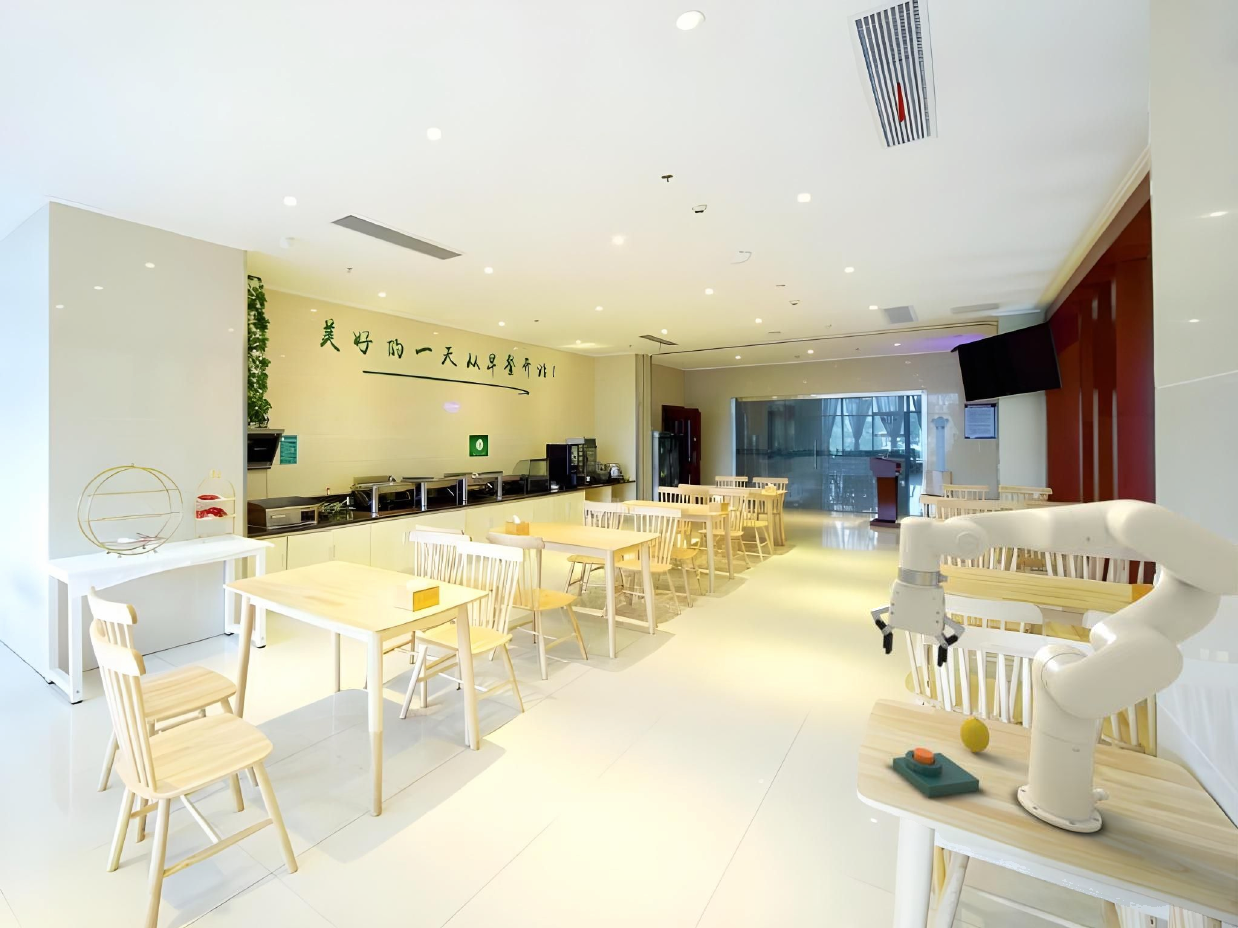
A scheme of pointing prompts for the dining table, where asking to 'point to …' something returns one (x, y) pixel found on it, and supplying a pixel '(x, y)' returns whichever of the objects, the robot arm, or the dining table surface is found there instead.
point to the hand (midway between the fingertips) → (913, 658)
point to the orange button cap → (923, 756)
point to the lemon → (974, 735)
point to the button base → (935, 775)
